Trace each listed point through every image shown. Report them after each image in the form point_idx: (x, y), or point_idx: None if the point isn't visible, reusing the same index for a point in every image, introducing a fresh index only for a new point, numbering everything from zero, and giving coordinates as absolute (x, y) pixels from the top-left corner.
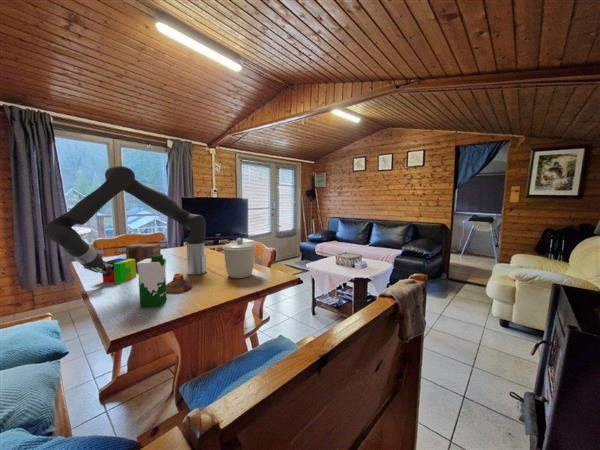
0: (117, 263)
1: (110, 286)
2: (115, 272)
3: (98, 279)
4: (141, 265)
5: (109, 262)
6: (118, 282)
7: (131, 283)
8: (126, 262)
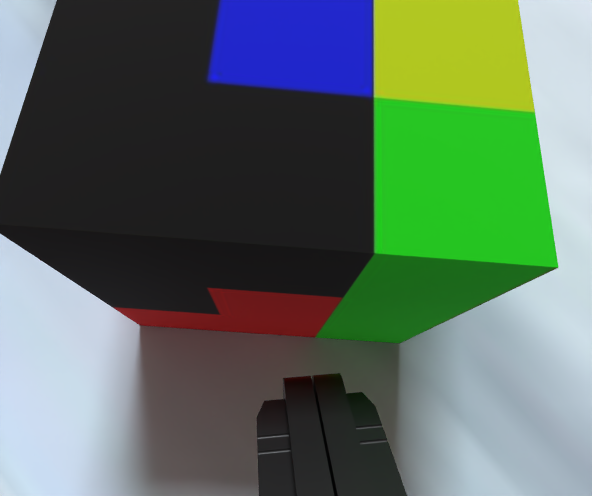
0: (470, 243)
1: None
2: (359, 309)
3: None
4: None
5: (176, 170)
6: (366, 338)
7: (526, 333)
8: (519, 91)
